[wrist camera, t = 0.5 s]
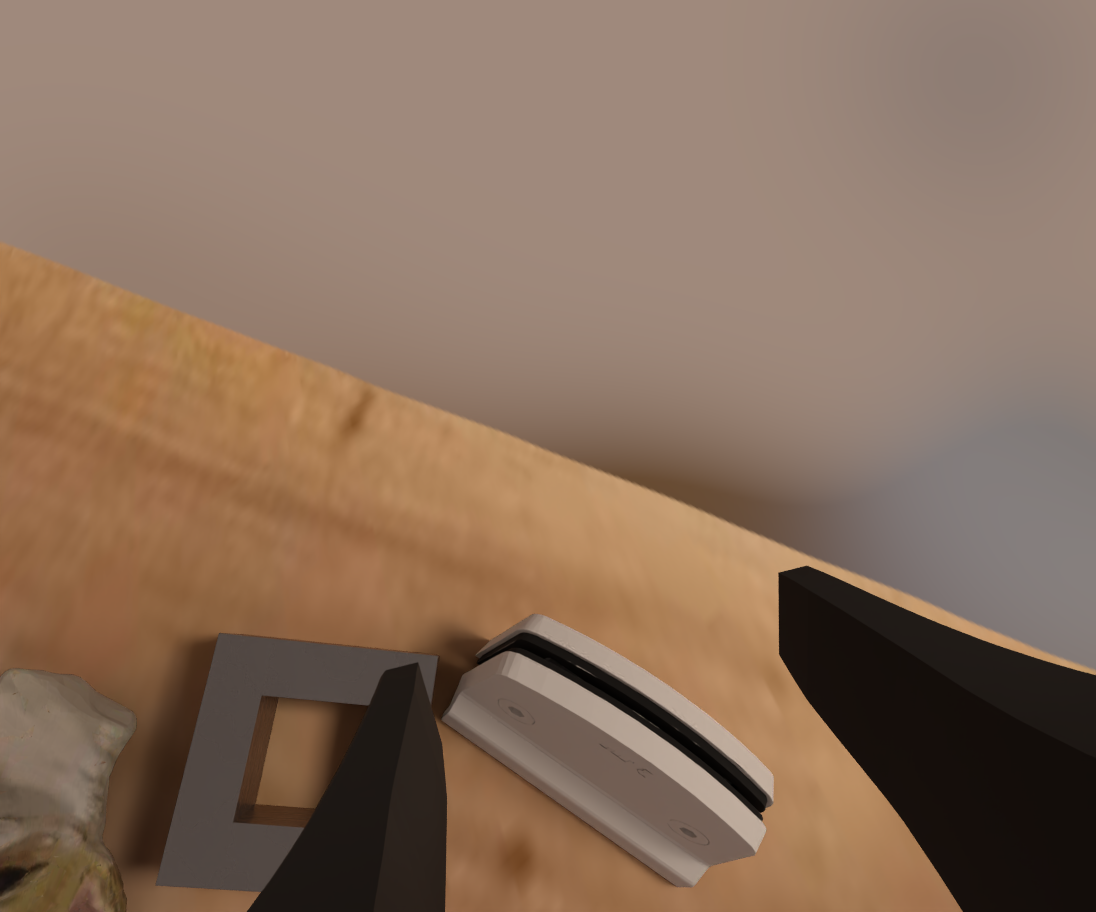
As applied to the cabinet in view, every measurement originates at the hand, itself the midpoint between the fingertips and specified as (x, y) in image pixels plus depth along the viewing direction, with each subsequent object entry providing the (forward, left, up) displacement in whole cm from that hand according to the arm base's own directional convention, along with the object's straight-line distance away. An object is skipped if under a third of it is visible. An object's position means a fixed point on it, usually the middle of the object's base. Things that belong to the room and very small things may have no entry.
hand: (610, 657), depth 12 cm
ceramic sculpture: (-10, +21, -26) cm, 35 cm away
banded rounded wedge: (-4, -6, -26) cm, 27 cm away
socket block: (-6, +9, -26) cm, 28 cm away
